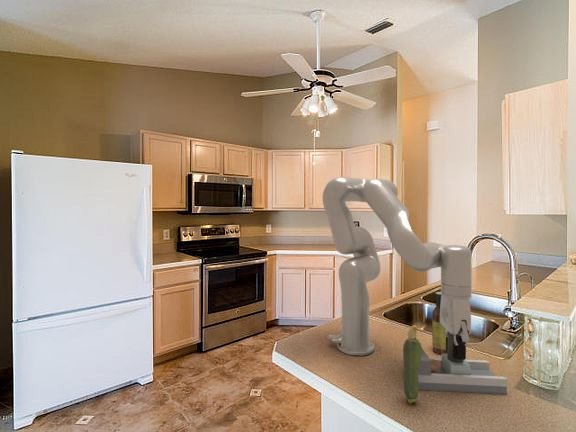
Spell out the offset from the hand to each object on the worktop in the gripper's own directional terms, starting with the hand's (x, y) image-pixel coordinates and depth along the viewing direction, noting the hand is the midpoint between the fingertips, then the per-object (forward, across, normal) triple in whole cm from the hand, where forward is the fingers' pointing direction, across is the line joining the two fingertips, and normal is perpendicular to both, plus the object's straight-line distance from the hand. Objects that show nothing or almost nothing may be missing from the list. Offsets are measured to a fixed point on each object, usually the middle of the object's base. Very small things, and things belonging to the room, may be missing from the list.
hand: (455, 354), depth 88 cm
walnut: (+6, 0, -6) cm, 8 cm away
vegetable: (+8, +10, -14) cm, 20 cm away
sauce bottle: (+8, -19, +3) cm, 21 cm away
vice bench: (+8, 0, -1) cm, 8 cm away
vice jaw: (+5, 0, 0) cm, 5 cm away
